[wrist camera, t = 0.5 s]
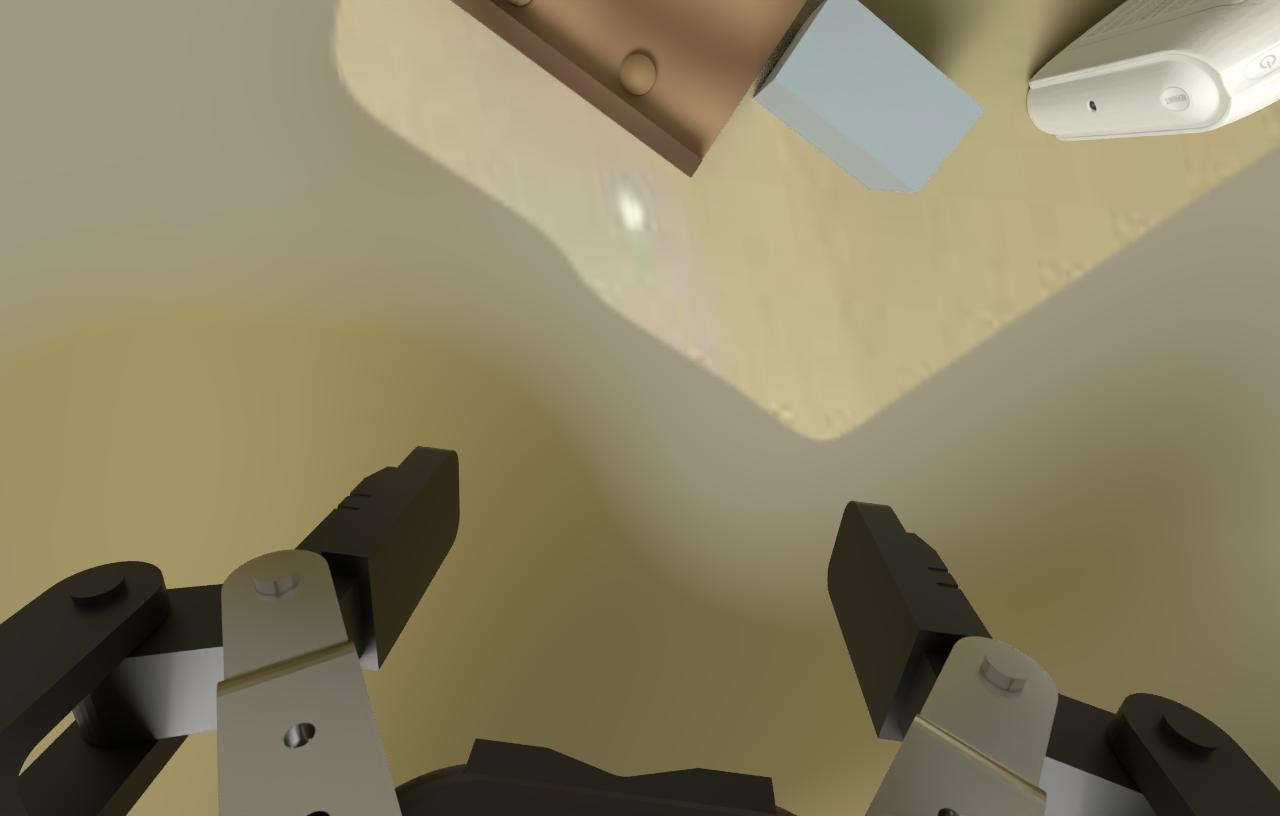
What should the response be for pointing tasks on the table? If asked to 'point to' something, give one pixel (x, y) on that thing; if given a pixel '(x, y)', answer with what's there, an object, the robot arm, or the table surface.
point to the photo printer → (1161, 70)
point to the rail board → (649, 59)
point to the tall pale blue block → (867, 98)
